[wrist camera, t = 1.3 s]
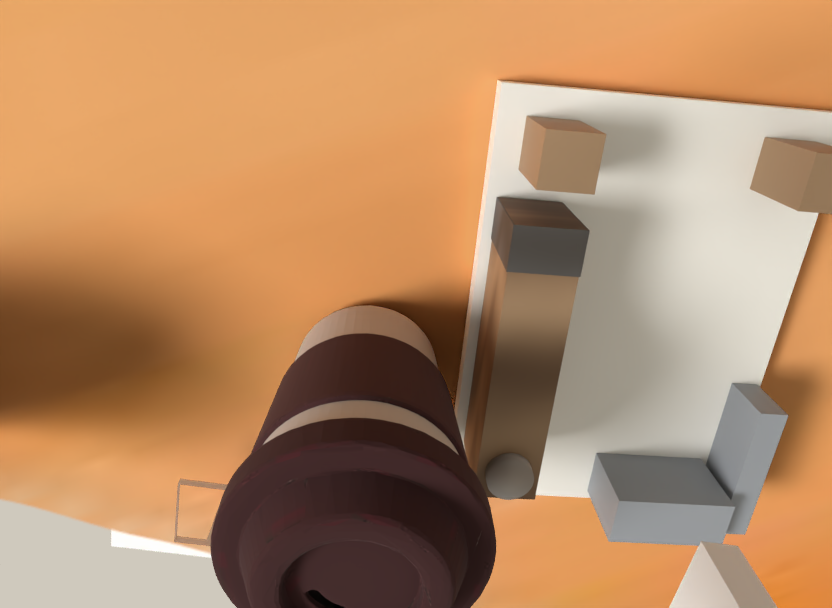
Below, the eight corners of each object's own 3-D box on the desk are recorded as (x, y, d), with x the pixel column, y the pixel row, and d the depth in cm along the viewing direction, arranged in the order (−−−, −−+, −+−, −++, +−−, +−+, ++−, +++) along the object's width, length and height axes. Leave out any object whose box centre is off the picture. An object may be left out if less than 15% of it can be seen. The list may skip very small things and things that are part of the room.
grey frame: (313, 453, 38) (301, 519, 33) (305, 507, 39) (292, 579, 34) (199, 437, 37) (169, 503, 32) (195, 493, 39) (165, 564, 33)
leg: (518, 443, 36) (538, 508, 31) (462, 440, 35) (473, 504, 31) (562, 202, 30) (593, 234, 26) (496, 196, 30) (515, 228, 26)
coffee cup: (438, 257, 32) (472, 447, 19) (475, 418, 37) (525, 667, 23) (247, 301, 33) (146, 514, 19) (305, 454, 37) (256, 718, 24)
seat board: (497, 79, 30) (518, 90, 25) (835, 111, 31) (918, 127, 26) (445, 476, 38) (453, 541, 33) (711, 490, 39) (755, 555, 34)
